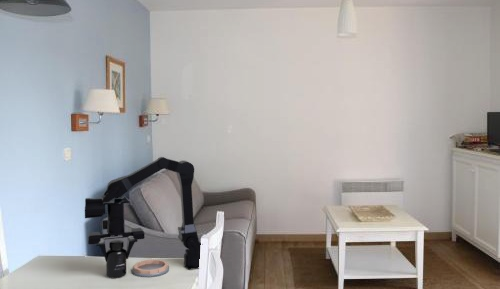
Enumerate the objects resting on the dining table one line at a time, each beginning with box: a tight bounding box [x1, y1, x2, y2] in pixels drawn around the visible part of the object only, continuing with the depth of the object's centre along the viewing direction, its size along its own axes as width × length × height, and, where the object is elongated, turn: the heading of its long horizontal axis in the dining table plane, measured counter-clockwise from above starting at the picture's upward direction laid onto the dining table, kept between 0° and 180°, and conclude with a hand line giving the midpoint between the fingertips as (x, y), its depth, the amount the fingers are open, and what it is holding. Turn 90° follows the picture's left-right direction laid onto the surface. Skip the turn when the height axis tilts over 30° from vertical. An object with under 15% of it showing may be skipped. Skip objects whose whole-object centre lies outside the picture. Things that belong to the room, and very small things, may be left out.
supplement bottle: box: [105, 239, 127, 279], centre depth 152 cm, size 7×7×12 cm
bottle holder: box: [132, 258, 170, 278], centre depth 157 cm, size 13×13×2 cm
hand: (116, 259), depth 152 cm, fingers closed on supplement bottle, 7 cm apart
